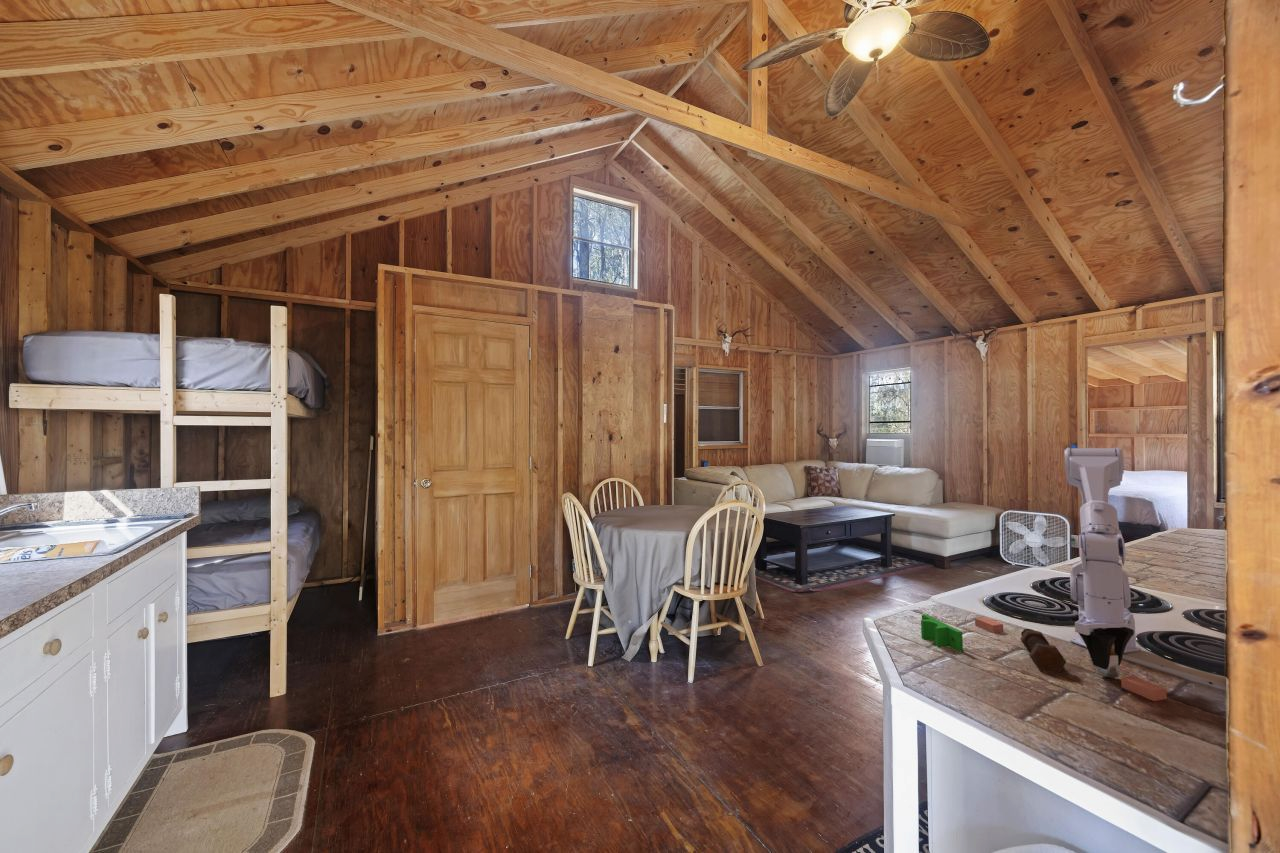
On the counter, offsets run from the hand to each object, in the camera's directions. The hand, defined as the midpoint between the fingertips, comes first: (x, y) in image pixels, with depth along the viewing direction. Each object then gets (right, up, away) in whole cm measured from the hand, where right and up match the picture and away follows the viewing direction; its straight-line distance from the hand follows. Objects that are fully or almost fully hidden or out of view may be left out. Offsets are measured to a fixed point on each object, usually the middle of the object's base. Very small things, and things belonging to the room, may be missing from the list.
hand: (1106, 665), depth 98 cm
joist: (-5, -3, +25) cm, 26 cm away
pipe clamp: (-22, -4, +19) cm, 29 cm away
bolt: (-5, -3, +10) cm, 12 cm away
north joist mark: (+1, -2, -6) cm, 6 cm away
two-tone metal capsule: (0, -2, 0) cm, 2 cm away
